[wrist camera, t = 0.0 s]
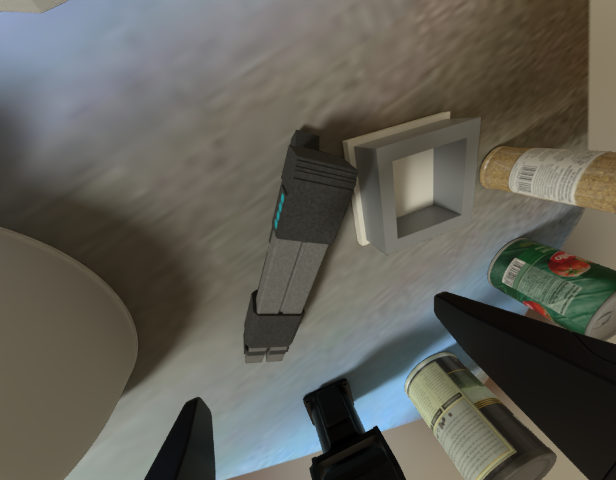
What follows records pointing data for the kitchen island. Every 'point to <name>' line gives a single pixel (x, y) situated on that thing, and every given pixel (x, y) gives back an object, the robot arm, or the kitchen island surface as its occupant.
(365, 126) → the kitchen island surface
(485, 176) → the sprinkles bottle
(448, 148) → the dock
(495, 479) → the coffee can
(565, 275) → the canned tomato
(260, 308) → the gun
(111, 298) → the kettle
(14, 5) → the french press
